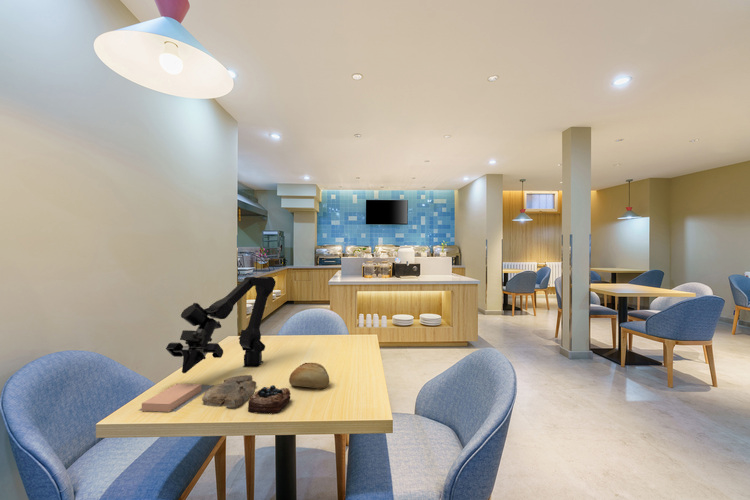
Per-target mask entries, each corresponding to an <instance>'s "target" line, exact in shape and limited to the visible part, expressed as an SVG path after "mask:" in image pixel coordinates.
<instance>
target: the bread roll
mask: <svg viewBox="0 0 750 500" xmlns="http://www.w3.org/2000/svg"><path fill="white" fill-rule="evenodd" d="M288 383H289V385H291V386H293V387H294V386H295V387H303V388H311V389H320V390H321V389H325V388H327V387H328V386H330V385H329V384H330V377H329V373H328V371H327V369H326V367H324V365H322V364H320V363H317V362H304V363H302V364H299V366H297V367H296V368H295V369H294V370H293V371H292V372H291V374H290V375H289V379H288Z"/></svg>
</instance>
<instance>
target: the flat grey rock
mask: <svg viewBox="0 0 750 500" xmlns="http://www.w3.org/2000/svg"><path fill="white" fill-rule="evenodd" d="M253 379H254V378H253V375H251V374H250V375H249V374H246V375H245V374H244V375H237V376H232V377H229V378H226V379H224V380H223V382H222V383H218V384H217V385H214V386H213V387H211V388H210V389H208V390H207V391H206V392H204V393H203V394H202V395H203V396H202V398H201V401H202V403H203V404H202V405H205V406H209V407H221V406H222V407H226V409H236V408H238V407H240V406H241V405H243V404H245V403H246V402H247V401H249V400H250V397H251V396H252V395H254V394H255V392H256V390H255V388H256V386H257V382H256V381H255V380H253Z"/></svg>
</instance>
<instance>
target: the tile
mask: <svg viewBox="0 0 750 500" xmlns="http://www.w3.org/2000/svg"><path fill="white" fill-rule="evenodd" d="M201 385H202V384H201V383H199V384H198V383H175V384H173V385H171V386H170V387H167V388H166V389H164V390H163V391H161V392H159V393H158V394H155V395H154V396H152V397H150V398H148V399H147V400H145V401H143V402H141V408H142V411H143V412H164V413H165V412H168V413H170V411H172V410H173V409H175V408H176V407H178V406H179V405H181V404H182V403H184V402H185V401H187V400H188V399H190V398H191V397H193V396H194V395H196V394H197V393H199V392H200V391H201Z"/></svg>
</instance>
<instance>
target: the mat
mask: <svg viewBox="0 0 750 500" xmlns="http://www.w3.org/2000/svg"><path fill="white" fill-rule="evenodd" d="M212 387H215V384H201V391H200V392H199V393H197V394H196V395H194V396H193V397H191V398H190V399H188V400H187V401H185V402H184V403H182V404H181V405H179V406H178V407H176V408H175V409H173V410H172V411H170V412H172V413H176V412H177V411H179V410H181V409H182V408H183V407H185V406H187V405H188V404H190V403H191V402H192V401H194V400H196V399H197V398H199V396H200V395H204V394H205V392H206V391H207V390H209V389H211V388H212ZM139 411H142V407H141V408H140V409H139ZM170 412H169V413H170Z"/></svg>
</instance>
